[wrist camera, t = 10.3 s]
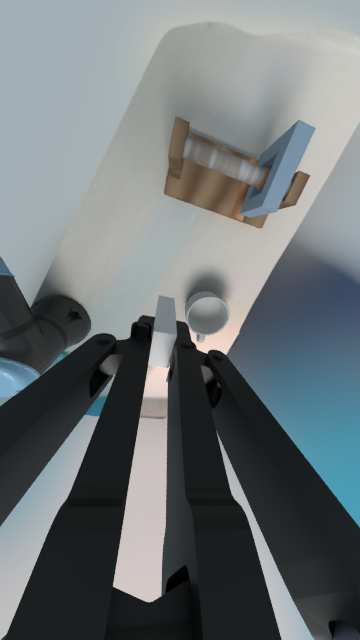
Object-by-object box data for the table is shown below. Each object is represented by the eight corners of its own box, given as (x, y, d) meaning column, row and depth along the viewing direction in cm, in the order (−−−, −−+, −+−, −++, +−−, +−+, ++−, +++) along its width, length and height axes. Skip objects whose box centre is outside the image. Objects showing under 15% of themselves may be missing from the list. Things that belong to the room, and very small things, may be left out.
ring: (239, 213, 32) (262, 206, 24) (261, 154, 28) (298, 119, 20) (250, 217, 33) (276, 211, 24) (273, 159, 29) (315, 128, 20)
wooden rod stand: (164, 194, 34) (160, 178, 25) (176, 129, 30) (178, 81, 20) (259, 228, 38) (287, 225, 28) (283, 175, 33) (325, 151, 24)
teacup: (192, 281, 43) (196, 290, 36) (228, 294, 45) (238, 305, 38) (175, 324, 49) (176, 339, 42) (207, 334, 51) (213, 349, 44)
